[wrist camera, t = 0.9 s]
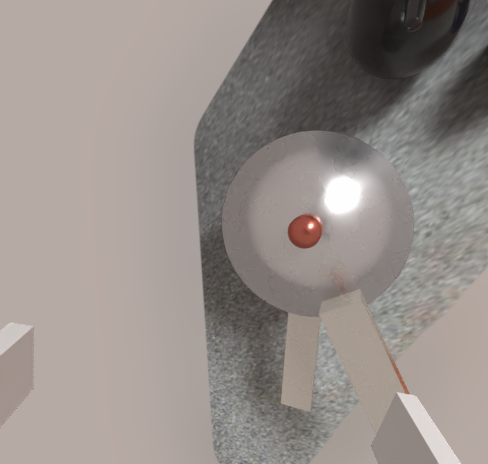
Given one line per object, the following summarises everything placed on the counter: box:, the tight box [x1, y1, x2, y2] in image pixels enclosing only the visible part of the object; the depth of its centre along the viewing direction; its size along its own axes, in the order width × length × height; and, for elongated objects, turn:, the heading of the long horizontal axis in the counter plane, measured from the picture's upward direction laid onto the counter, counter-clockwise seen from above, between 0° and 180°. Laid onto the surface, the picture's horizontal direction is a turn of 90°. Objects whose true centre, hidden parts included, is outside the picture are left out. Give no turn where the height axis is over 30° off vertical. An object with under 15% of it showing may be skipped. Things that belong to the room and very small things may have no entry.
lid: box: [222, 130, 414, 434], centre depth 23 cm, size 28×15×4 cm, turn 27°
